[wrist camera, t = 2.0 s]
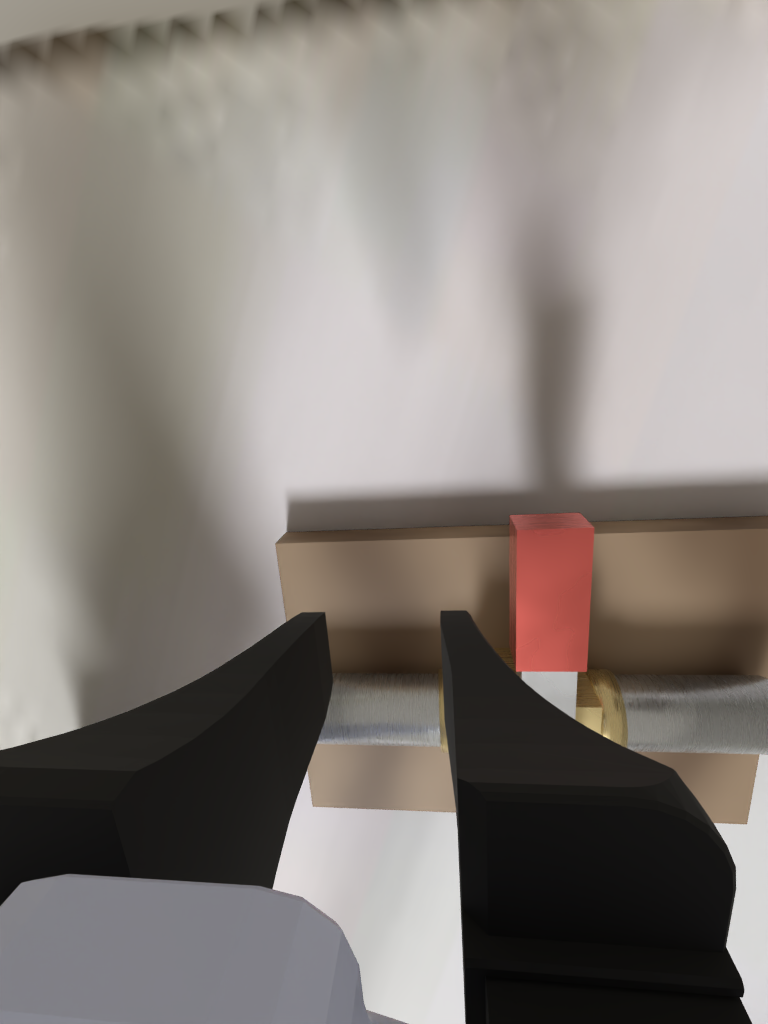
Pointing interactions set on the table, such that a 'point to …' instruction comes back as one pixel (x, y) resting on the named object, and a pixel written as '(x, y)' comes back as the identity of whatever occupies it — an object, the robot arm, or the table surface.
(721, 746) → the valve housing
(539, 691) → the lever
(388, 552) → the mounting board
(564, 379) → the table surface
